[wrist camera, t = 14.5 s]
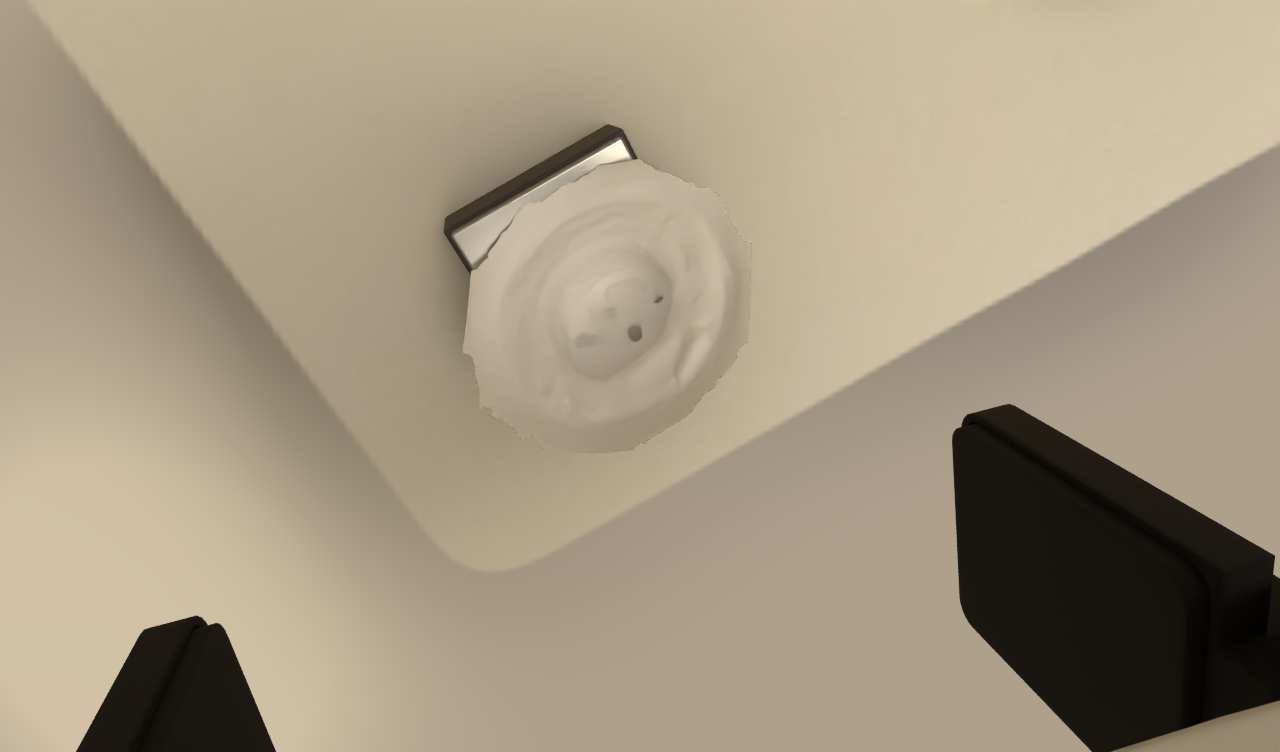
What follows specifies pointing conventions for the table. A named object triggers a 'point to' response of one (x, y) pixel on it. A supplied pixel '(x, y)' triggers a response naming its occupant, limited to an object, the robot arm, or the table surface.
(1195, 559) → the robot arm
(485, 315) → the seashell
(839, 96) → the table surface
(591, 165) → the scale pan
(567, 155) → the scale
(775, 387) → the table surface
